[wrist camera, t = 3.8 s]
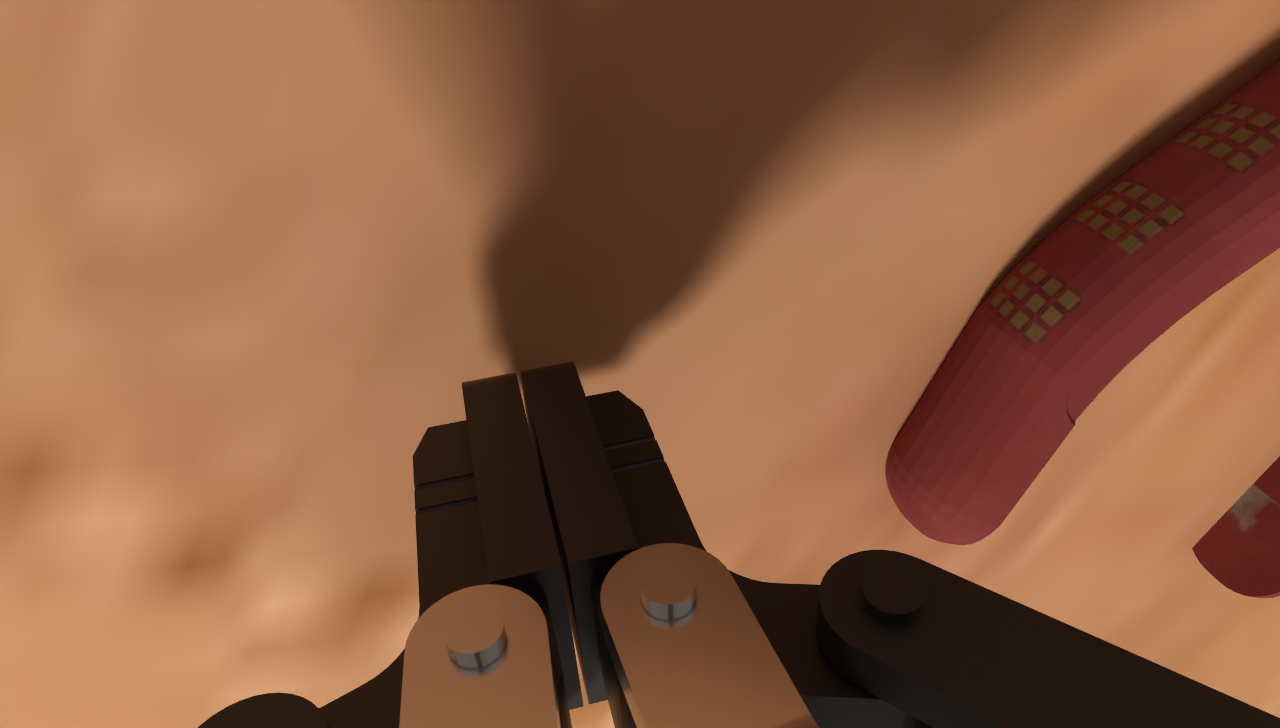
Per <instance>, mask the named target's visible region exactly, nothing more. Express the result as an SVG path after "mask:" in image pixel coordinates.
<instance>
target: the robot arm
mask: <svg viewBox="0 0 1280 728" xmlns="http://www.w3.org/2000/svg"><path fill="white" fill-rule="evenodd" d="M520 377H521V384H522V390H523V396H524V402H525V408H526V414H527V418H526V414H525V410H524V405H523V401H522V397H521V393H520V388H519V384H518V380H517V376H516V373H511V374H506V375H500V376H495V377H490V378H484V379H479V380H473V381H468V382H463V383H462V390H463V397H464V404H465V412H466V419H467V420H465V421H460V422H455V423H450V424H444V425H439V426H434V427H429V428H428V429H427V431H426V433H425V434H424V436H423V438H422V440H421V442H420V444H419V446H418V447H417V449H416V451H415V453H414V455H413V469H414V486H415V510H416V536H417V558H418V580H419V602H420V609H419V618H418V620H417V622H416V623H415V625H414V626H413V628H412V630H411V631H410V634H409V636H408V639H407V641H406V646H405V649H404V650H403V651H402V653H401V654H400V655H399V656H398V658H397V659H396V660H395V661H394V662H393V663H392V664H391V665H390V666H389V667H388V668H387V669H385V670H384V671H383V672H381V673H380V674H379V675H377V676H376V677H375V678H373V679H372V680H370V681H368V682H367V683H365V684H363V685H362V686H360V687H358V688H356V689H354V690H353V691H351V692H349V693H347V694H345V695H343V696H341V697H340V698H338V699H336V700H334V701H332V702H330V703H328V704H327V705H325V706H323V707H321V708H317V707H316V706H315V705H314V704H313V703H312V702H310V701H308V700H307V699H305V698H303V697H300V696H297V695H294V694H287V693H268V694H262V695H257V696H253V697H250V698H247V699H244V700H241V701H239V702H237V703H234V704H232V705H230V706H228V707H226V708H224V709H223V710H221V711H219V712H218V713H216V714H215V715H213V716H212V717H210V718H209V719H208V720H206V721H205V722H204V723H203V724H201V725H200V726H199V727H198V728H572V725H571V719H570V713H569V710H571V709H575V708H579V707H582V706H583V700H582V694H581V687H580V681H579V674H578V668H577V662H576V655H575V649H574V642H573V637H574V641H575V645H576V650H577V654H578V658H579V663H580V667H581V671H582V676H583V680H584V684H585V689H586V693H587V697H588V702H589V704H592V703H596V702H600V701H604V700H608V702H609V706H610V710H611V714H612V718H613V721H614V725H615V728H1280V718H1278V717H1276V716H1274V715H1271V714H1269V713H1267V712H1265V711H1262V710H1260V709H1258V708H1255V707H1253V706H1251V705H1249V704H1246V703H1244V702H1242V701H1240V700H1237V699H1235V698H1233V697H1231V696H1228V695H1226V694H1224V693H1222V692H1219V691H1217V690H1215V689H1212V688H1210V687H1208V686H1206V685H1203V684H1201V683H1199V682H1197V681H1194V680H1192V679H1190V678H1188V677H1185V676H1183V675H1181V674H1179V673H1176V672H1174V671H1172V670H1170V669H1167V668H1165V667H1163V666H1160V665H1158V664H1156V663H1154V662H1151V661H1149V660H1147V659H1145V658H1142V657H1140V656H1138V655H1136V654H1133V653H1131V652H1129V651H1127V650H1124V649H1122V648H1120V647H1117V646H1115V645H1113V644H1111V643H1108V642H1106V641H1104V640H1102V639H1099V638H1097V637H1095V636H1093V635H1090V634H1088V633H1086V632H1084V631H1081V630H1079V629H1077V628H1074V627H1072V626H1070V625H1068V624H1065V623H1063V622H1061V621H1059V620H1056V619H1054V618H1052V617H1050V616H1047V615H1045V614H1043V613H1041V612H1038V611H1036V610H1034V609H1032V608H1029V607H1027V606H1025V605H1022V604H1020V603H1018V602H1016V601H1013V600H1011V599H1009V598H1007V597H1004V596H1002V595H1000V594H998V593H995V592H993V591H991V590H989V589H986V588H984V587H982V586H979V585H977V584H975V583H973V582H970V581H968V580H966V579H964V578H961V577H959V576H957V575H955V574H952V573H950V572H948V571H946V570H943V569H941V568H939V567H936V566H934V565H932V564H930V563H927V562H925V561H923V560H921V559H918V558H916V557H913V556H910V555H908V554H904V553H900V552H896V551H888V550H868V551H861V552H857V553H854V554H851V555H848V556H846V557H844V558H842V559H840V560H839V561H838V562H836V563H835V564H833V565H832V566H831V568H830V569H829V570H828V571H827V572H826V574H825V576H824V577H823V579H822V582H821V585H809V584H782V583H768V582H761V581H756V580H752V579H749V578H746V577H743V576H740V575H738V574H736V573H734V572H732V571H729V570H728V569H727V568H726V566H725V565H724V564H723V563H722V562H721V561H720V560H719V559H717V558H716V557H714V556H713V555H711V554H710V553H708V552H707V551H706V550H705V548H704V547H703V545H702V543H701V541H700V539H699V537H698V535H697V532H696V530H695V528H694V525H693V523H692V521H691V519H690V516H689V514H688V512H687V509H686V507H685V505H684V503H683V500H682V498H681V496H680V493H679V491H678V489H677V487H676V484H675V482H674V480H673V477H672V475H671V473H670V470H669V468H668V466H667V464H666V462H664V458H663V454H662V452H661V450H660V448H659V445H658V443H657V441H655V438H654V434H653V432H652V429H651V427H650V425H649V422H648V420H647V418H646V416H645V413H644V411H643V409H641V408H640V407H639V406H638V405H636V404H635V403H634V402H632V401H631V400H630V399H629V398H627V397H626V396H625V395H623V394H622V393H621V392H620V391H612V392H607V393H602V394H597V395H592V396H587V397H586V396H585V393H584V390H583V387H582V385H581V382H580V379H579V376H578V373H577V370H576V367H575V365H574V363H573V362H569V363H563V364H558V365H553V366H547V367H542V368H536V369H531V370H526V371H520ZM527 420H528V422H527ZM571 628H572V630H571ZM572 632H573V636H572Z"/></svg>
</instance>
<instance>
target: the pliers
mask: <svg viewBox="0 0 1280 728" xmlns="http://www.w3.org/2000/svg"><path fill="white" fill-rule="evenodd" d="M1279 248H1280V60H1278V61H1277V62H1276V63H1274V64H1273V65H1272V66H1270V67H1269V68H1267V69H1266V70H1265V71H1263V72H1262V73H1261V74H1259V75H1258V76H1257V77H1255V78H1254V79H1252V80H1251V81H1250V82H1248V83H1247V84H1246V85H1244V86H1243V87H1241V88H1240V89H1239V90H1237V91H1236V92H1235V93H1233V94H1232V95H1231V96H1229V97H1228V98H1226V99H1225V100H1224V101H1222V102H1221V103H1220V104H1218V105H1217V106H1216V107H1214V108H1213V109H1211V110H1210V111H1209V112H1207V113H1206V114H1205V115H1203V116H1202V117H1201V118H1199V119H1198V120H1196V121H1195V122H1194V123H1192V124H1191V125H1190V126H1188V127H1187V128H1185V129H1184V130H1183V131H1181V132H1180V133H1179V134H1177V135H1176V136H1175V137H1173V138H1172V139H1170V140H1169V141H1168V142H1166V143H1165V144H1164V145H1162V146H1161V147H1160V148H1158V149H1157V150H1155V151H1154V152H1153V153H1151V154H1150V155H1149V156H1147V157H1146V158H1145V159H1143V160H1142V161H1140V162H1139V163H1138V164H1136V165H1135V166H1134V167H1132V168H1131V169H1129V170H1128V171H1127V172H1125V173H1124V174H1123V175H1121V176H1120V177H1119V178H1117V179H1116V180H1114V181H1113V182H1112V183H1110V184H1109V185H1108V186H1106V187H1105V188H1104V189H1102V190H1101V191H1100V192H1099V193H1097V194H1096V195H1095V196H1094V197H1092V198H1091V199H1090V200H1089V201H1088V202H1086V203H1085V204H1084V205H1083V206H1081V207H1080V208H1079V209H1078V210H1077V211H1075V212H1074V213H1073V214H1072V215H1070V216H1069V217H1068V218H1067V219H1066V220H1065V221H1064V222H1062V223H1061V224H1060V225H1059V226H1058V227H1057V228H1056V229H1055V230H1053V231H1052V232H1051V233H1050V234H1049V235H1048V236H1047V237H1046V238H1044V239H1043V240H1042V241H1041V242H1040V243H1039V244H1038V245H1037V246H1036V247H1035V248H1034V249H1033V250H1031V251H1030V252H1029V253H1028V254H1027V255H1026V256H1025V257H1024V258H1023V259H1022V260H1021V261H1020V262H1019V263H1018V264H1017V265H1016V266H1015V267H1014V268H1013V269H1012V270H1011V271H1010V272H1009V273H1008V274H1007V275H1006V276H1005V277H1004V278H1003V279H1002V281H1001V282H1000V283H999V284H998V285H997V286H996V288H995V289H994V290H993V291H992V292H991V293H990V294H989V296H988V297H987V298H986V299H985V300H984V301H983V303H982V304H981V305H980V306H979V307H978V308H977V310H976V311H975V313H974V315H973V316H972V318H971V319H970V321H969V323H968V324H967V326H966V327H965V329H964V331H963V332H962V334H961V335H960V337H959V339H958V340H957V342H956V343H955V345H954V347H953V348H952V350H951V351H950V353H949V355H948V356H947V358H946V359H945V361H944V363H943V364H942V366H941V367H940V369H939V371H938V372H937V374H936V376H935V377H934V379H933V380H932V382H931V384H930V385H929V387H928V388H927V390H926V392H925V393H924V395H923V396H922V398H921V400H920V401H919V403H918V404H917V406H916V408H915V409H914V411H913V412H912V414H911V416H910V417H909V419H908V420H907V422H906V424H905V425H904V427H903V428H902V430H901V432H900V433H899V435H898V436H897V438H896V440H895V441H894V443H893V444H892V446H891V449H890V451H889V454H888V457H887V461H886V472H885V474H886V481H887V485H888V489H889V491H890V494H891V496H892V498H893V500H894V502H895V504H896V505H897V507H898V509H899V510H900V512H901V513H902V514H903V515H904V517H905V518H906V519H907V520H908V521H909V522H910V523H911V524H912V525H913V526H914V527H915V528H916V529H918V530H919V531H920V532H921V533H922V534H924V535H926V536H927V537H929V538H931V539H934V540H937V541H940V542H944V543H949V544H957V545H966V544H972V543H975V542H977V541H980V540H982V539H983V538H985V537H986V536H988V535H990V534H991V533H992V532H993V531H994V530H995V529H997V528H998V527H999V526H1000V525H1001V523H1002V522H1003V521H1004V520H1005V518H1006V517H1007V516H1008V514H1009V513H1010V512H1011V510H1012V509H1013V508H1014V506H1015V505H1016V504H1017V502H1018V501H1019V500H1020V498H1021V497H1022V496H1023V494H1024V493H1025V491H1026V490H1027V489H1028V487H1029V486H1030V485H1031V483H1032V482H1033V481H1034V479H1035V478H1036V477H1037V475H1038V474H1039V473H1040V471H1041V470H1042V469H1043V467H1044V466H1045V465H1046V463H1047V462H1048V461H1049V459H1050V458H1051V457H1052V455H1053V454H1054V453H1055V451H1056V450H1057V449H1058V447H1059V446H1060V445H1061V443H1062V442H1063V440H1064V439H1065V438H1066V436H1067V435H1068V434H1069V432H1070V431H1071V430H1072V428H1073V427H1074V426H1075V420H1076V419H1077V418H1078V417H1079V416H1080V415H1081V413H1082V412H1083V411H1084V410H1085V409H1086V408H1087V407H1088V405H1089V404H1090V403H1091V402H1092V401H1093V400H1094V399H1095V397H1096V396H1097V395H1098V394H1099V393H1100V392H1101V391H1102V390H1103V389H1104V388H1105V387H1106V386H1107V385H1108V384H1109V383H1110V382H1111V381H1112V379H1113V378H1114V377H1115V376H1116V375H1117V374H1118V373H1119V372H1120V371H1121V370H1122V369H1123V368H1124V367H1125V366H1126V365H1127V364H1128V363H1130V362H1131V361H1132V360H1133V359H1134V358H1135V357H1136V356H1137V355H1138V354H1140V353H1141V352H1142V351H1143V350H1144V349H1145V348H1146V347H1147V346H1148V345H1149V344H1151V343H1152V342H1153V341H1154V340H1155V339H1156V338H1158V337H1159V336H1160V335H1161V334H1163V333H1164V332H1165V331H1166V330H1167V329H1169V328H1170V327H1171V326H1172V325H1174V324H1175V323H1176V322H1177V321H1178V320H1180V319H1181V318H1182V317H1183V316H1185V315H1186V314H1187V313H1189V312H1190V311H1191V310H1192V309H1194V308H1195V307H1196V306H1198V305H1199V304H1200V303H1202V302H1203V301H1204V300H1206V299H1207V298H1208V297H1210V296H1211V295H1212V294H1214V293H1215V292H1216V291H1218V290H1219V289H1221V288H1222V287H1224V286H1225V285H1226V284H1228V283H1229V282H1231V281H1232V280H1234V279H1235V278H1237V277H1238V276H1239V275H1241V274H1242V273H1244V272H1245V271H1247V270H1248V269H1250V268H1251V267H1253V266H1254V265H1255V264H1257V263H1258V262H1260V261H1261V260H1263V259H1264V258H1266V257H1267V256H1268V255H1270V254H1271V253H1273V252H1274V251H1276V250H1277V249H1279ZM1192 549H1193V551H1194V553H1195V556H1196V557H1197V559H1198V560H1199V562H1200V563H1201V564H1202V565H1203V566H1204V568H1205V569H1206V570H1207V571H1208V572H1209V573H1210V574H1211V575H1213V576H1214V577H1215V578H1216V579H1217V580H1218V581H1219V582H1220V583H1222V584H1223V585H1224V586H1226V587H1227V588H1229V589H1231V590H1232V591H1234V592H1237V593H1239V594H1242V595H1245V596H1249V597H1257V598H1273V597H1278V596H1280V457H1279V458H1278V459H1277V460H1276V461H1275V462H1274V463H1273V464H1272V465H1271V466H1270V467H1269V468H1268V469H1267V470H1266V471H1265V472H1264V473H1263V474H1262V475H1261V476H1260V477H1259V479H1258V480H1257V481H1256V482H1255V483H1254V484H1253V485H1252V486H1251V487H1250V488H1249V489H1248V490H1247V491H1246V492H1245V493H1244V494H1243V495H1242V496H1241V497H1240V498H1239V499H1238V500H1237V501H1236V503H1235V504H1234V505H1233V506H1232V507H1231V508H1230V509H1229V510H1228V511H1227V512H1226V513H1225V514H1224V515H1223V516H1222V517H1221V518H1220V519H1219V520H1218V521H1217V523H1216V524H1215V525H1214V526H1213V527H1212V528H1211V529H1210V530H1209V531H1208V532H1207V533H1206V534H1205V535H1204V536H1203V537H1202V538H1201V539H1200V540H1199V542H1198V543H1197V544H1196V545H1195V546H1194V547H1193V548H1192Z"/></svg>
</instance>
